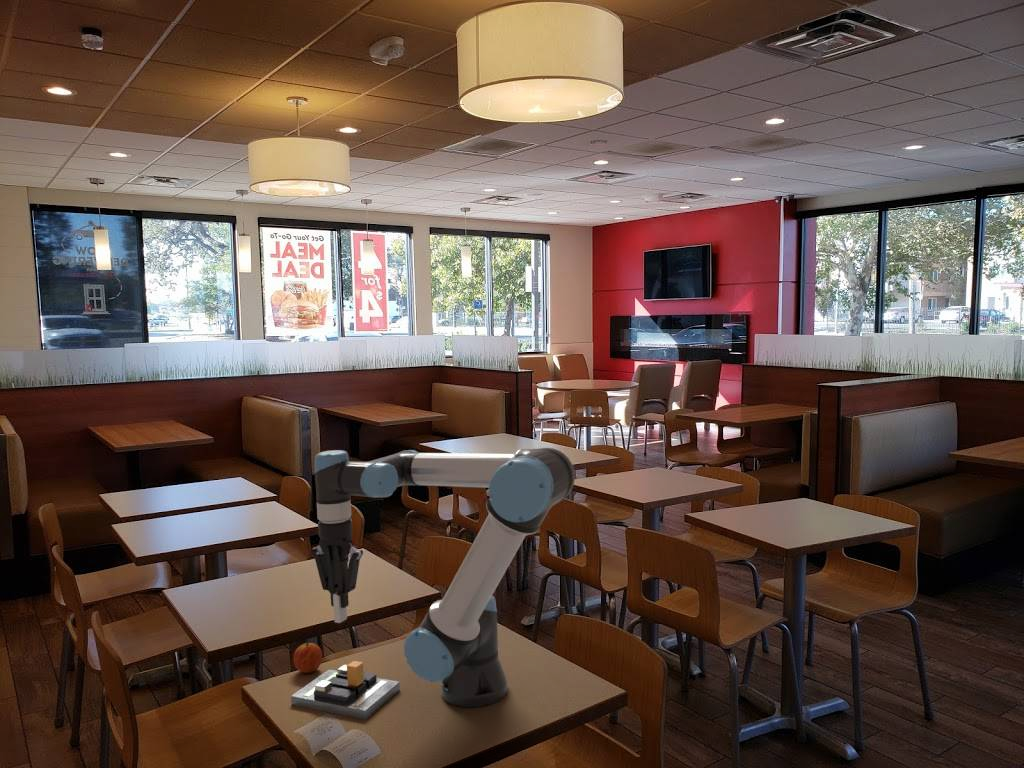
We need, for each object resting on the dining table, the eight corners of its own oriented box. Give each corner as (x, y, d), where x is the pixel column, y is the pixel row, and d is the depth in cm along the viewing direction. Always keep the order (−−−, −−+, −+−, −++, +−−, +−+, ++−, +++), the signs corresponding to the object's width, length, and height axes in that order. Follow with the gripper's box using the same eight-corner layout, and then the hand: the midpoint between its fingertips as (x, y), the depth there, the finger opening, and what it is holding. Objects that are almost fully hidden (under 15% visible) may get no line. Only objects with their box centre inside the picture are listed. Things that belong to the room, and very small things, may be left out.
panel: (399, 689, 175) (398, 670, 175) (365, 719, 163) (364, 698, 162) (329, 677, 183) (328, 658, 183) (291, 704, 171) (290, 684, 170)
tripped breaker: (363, 681, 172) (362, 662, 172) (357, 686, 170) (356, 667, 170) (354, 679, 173) (353, 660, 173) (347, 684, 171) (346, 665, 171)
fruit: (295, 667, 190) (293, 636, 189) (323, 663, 191) (321, 633, 191) (293, 679, 183) (291, 647, 182) (322, 675, 184) (321, 644, 184)
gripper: (368, 516, 171) (374, 617, 173) (321, 513, 176) (327, 611, 178) (349, 525, 164) (355, 630, 166) (300, 521, 169) (307, 623, 171)
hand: (340, 620), depth 172 cm, fingers closed
